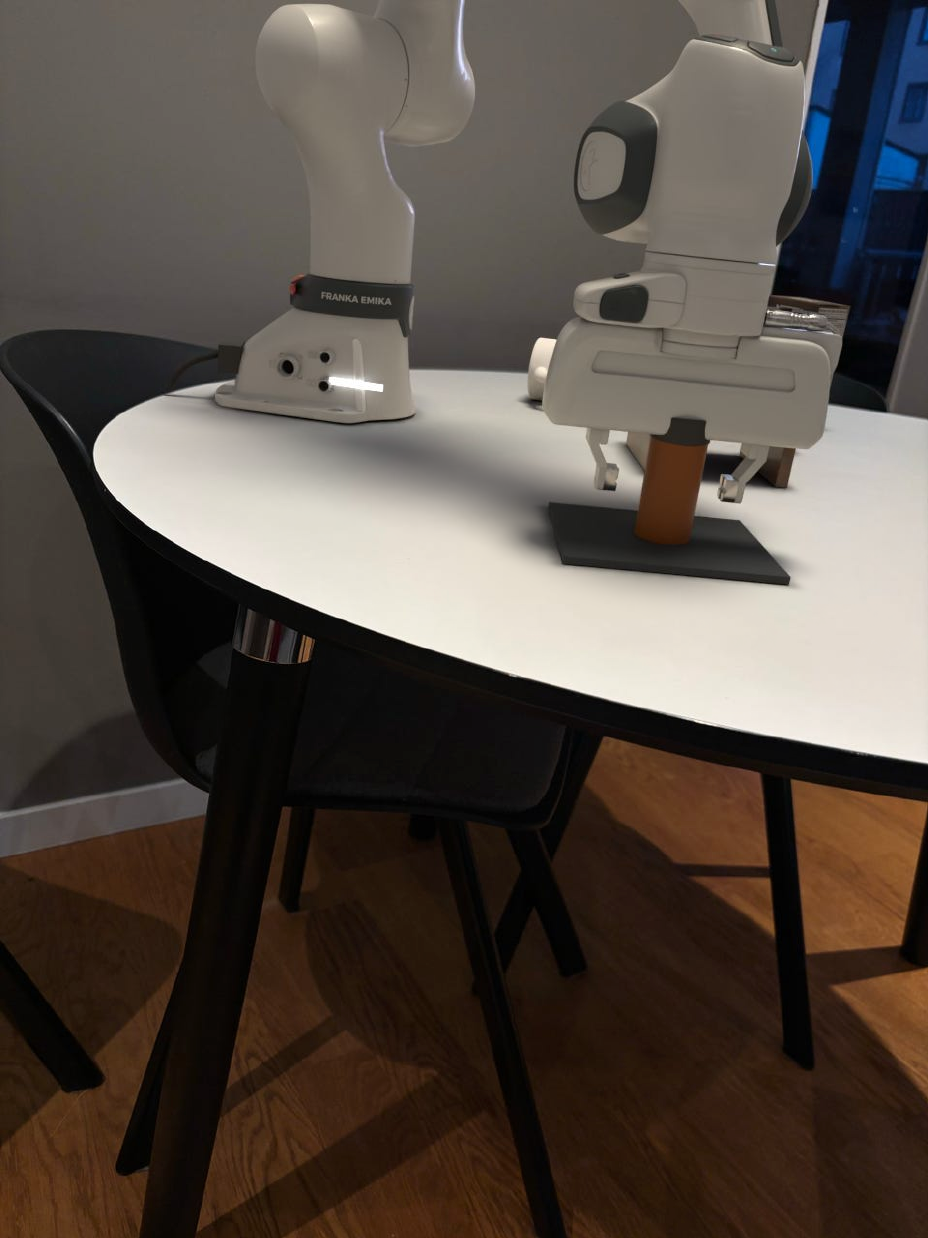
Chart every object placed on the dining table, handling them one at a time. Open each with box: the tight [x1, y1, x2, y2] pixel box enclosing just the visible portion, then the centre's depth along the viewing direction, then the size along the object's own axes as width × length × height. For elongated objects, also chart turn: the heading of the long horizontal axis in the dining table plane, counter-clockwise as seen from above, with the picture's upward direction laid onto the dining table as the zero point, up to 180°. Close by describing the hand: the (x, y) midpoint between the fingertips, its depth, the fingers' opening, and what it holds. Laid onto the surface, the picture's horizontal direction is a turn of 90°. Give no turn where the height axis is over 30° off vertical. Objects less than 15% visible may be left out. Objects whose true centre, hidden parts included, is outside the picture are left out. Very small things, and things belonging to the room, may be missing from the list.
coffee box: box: [767, 294, 851, 387], centre depth 130 cm, size 9×6×16 cm
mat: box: [547, 501, 792, 586], centre depth 75 cm, size 16×14×1 cm
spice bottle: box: [634, 418, 711, 545], centre depth 73 cm, size 4×4×9 cm
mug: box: [527, 337, 557, 401], centre depth 127 cm, size 12×10×8 cm
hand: (666, 494), depth 73 cm, fingers open, 8 cm apart
